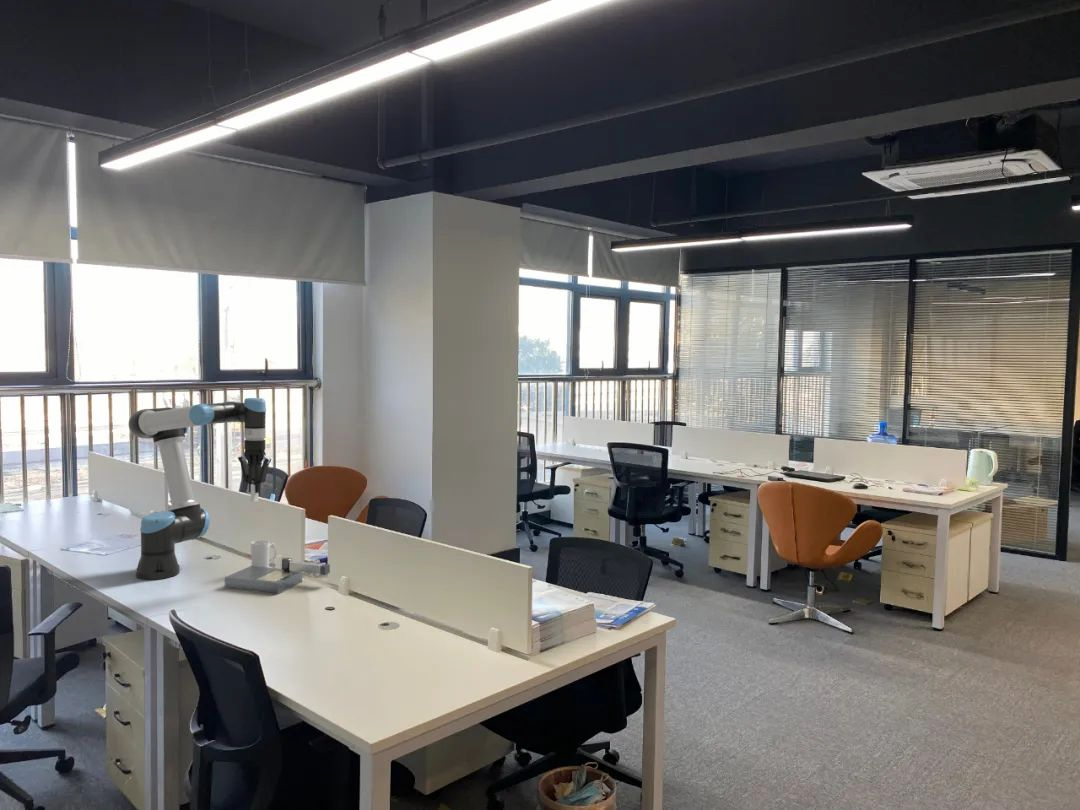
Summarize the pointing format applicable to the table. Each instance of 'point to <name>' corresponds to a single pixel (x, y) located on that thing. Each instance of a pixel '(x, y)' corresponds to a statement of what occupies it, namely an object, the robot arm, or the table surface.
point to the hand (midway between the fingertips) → (254, 501)
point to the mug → (262, 553)
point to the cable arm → (305, 566)
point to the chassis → (263, 579)
